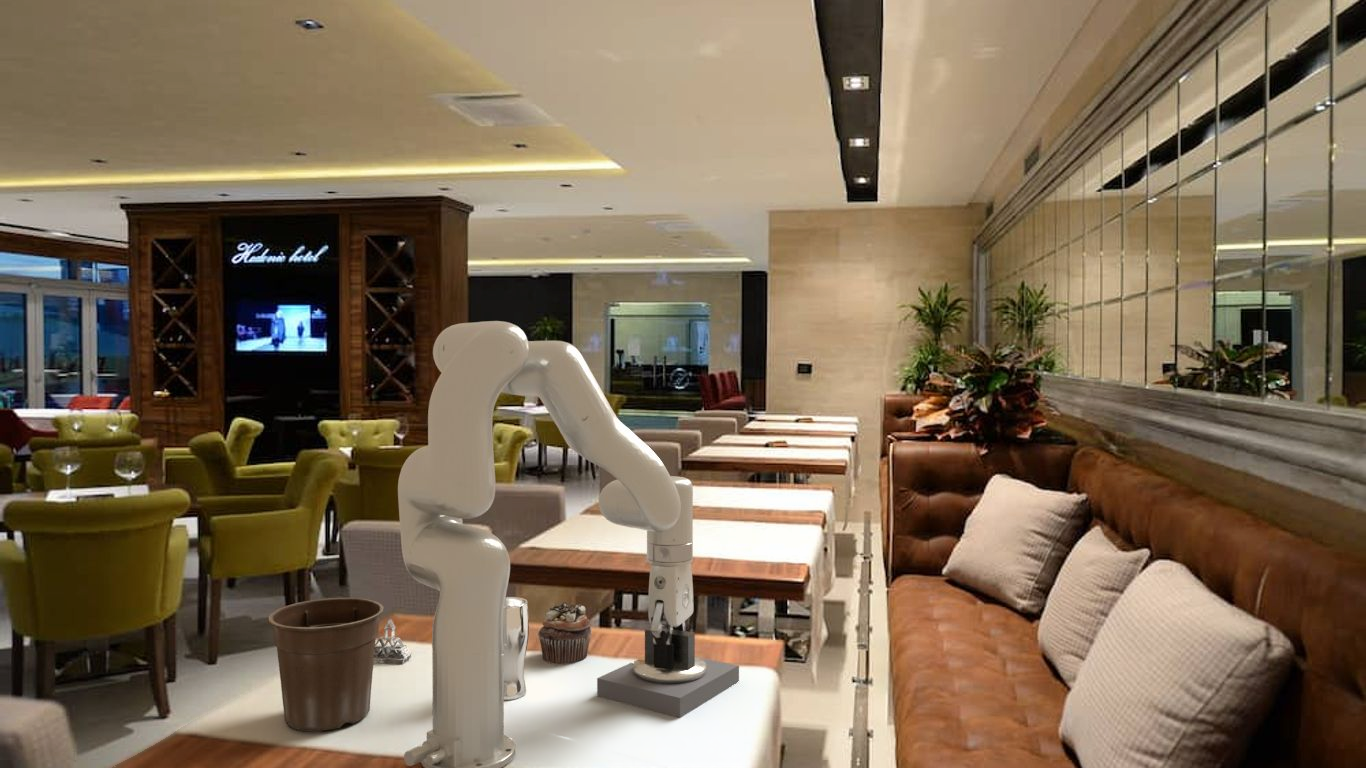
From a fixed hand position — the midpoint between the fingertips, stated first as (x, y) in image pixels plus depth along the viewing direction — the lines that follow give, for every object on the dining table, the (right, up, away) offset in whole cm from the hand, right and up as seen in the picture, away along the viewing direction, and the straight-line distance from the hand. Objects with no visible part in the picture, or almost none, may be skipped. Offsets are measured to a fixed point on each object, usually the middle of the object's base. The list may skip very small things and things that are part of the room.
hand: (669, 661), depth 151 cm
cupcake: (-19, -5, +16) cm, 26 cm away
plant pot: (-52, -5, -12) cm, 53 cm away
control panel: (0, -5, 0) cm, 5 cm away
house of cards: (-50, -5, +17) cm, 53 cm away
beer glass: (-26, -5, -2) cm, 27 cm away
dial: (0, -2, 0) cm, 2 cm away
